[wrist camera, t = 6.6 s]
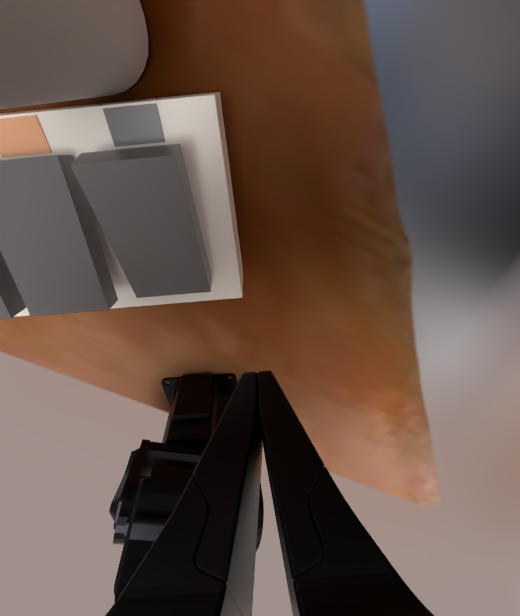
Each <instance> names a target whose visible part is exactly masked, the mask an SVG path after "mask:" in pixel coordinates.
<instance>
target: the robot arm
mask: <svg viewBox="0 0 520 616" xmlns="http://www.w3.org/2000/svg"><path fill="white" fill-rule="evenodd" d="M230 376H231V377H233V379H228V377H230ZM166 381H168V382H170V384H166V383H165V382H166ZM161 383H162V386H163V388H164V391H165V393H166V396H167V398H168V401H169V403H170V406H171V407H170V411H169V416H168V420H167V424H166V428H165V433H164V437H163V441H162V443H158V442H150V440H144V439H143V440H142V443H141V446H140V448H139V449H137V450H135V451H132V452H131V456H130V459H129V462H128V465H127V468H126V471H125V474H124V476H123V479H122V481H121V483H120V486H119V488H118V490H117V492H116V494H115V496H114V499H113V501H112V503H111V507H110V511H109V512H110V514H111V516H112V518H113V520H114V530H115V534H114V541H113V544H124V547H123V551H122V555H121V559H120V564H119V568H118V572H117V576H116V581H115V585H114V594H115V604H114V605H113V606H112V608H111V609H110V610H109V612H108V613H107V614H106V616H252V602H253V587H254V572H255V556H256V551H257V549H258V547H259V544H260V540H261V535H262V528H263V513H264V512H263V511H264V510H263V497H262V490H261V483H260V478H261V463H262V440H263V447H264V453H265V459H266V465H267V470H268V476H269V481H270V487H271V493H272V498H273V504H274V510H275V516H276V521H277V527H278V533H279V538H280V544H281V550H282V555H283V560H284V567H285V572H286V578H287V584H288V589H289V595H290V601H291V606H292V612H293V616H434V615H433V614H432V613H431V612H430V611H429V610H428V609H427V608H426V607H425V606H424V605H423V604H422V603H421V602H420V600H419V599H418V598H417V597H416V596H415V595H414V593H413V592H412V591H411V590H410V589H409V587H408V586H407V585H406V584H405V582H404V581H403V580H402V579H401V577H400V576H399V574H398V573H397V572H396V570H395V569H394V568H393V566H392V565H391V564H390V562H389V561H388V559H387V558H386V557H385V555H384V554H383V553H382V551H381V550H380V548H379V547H378V546H377V544H376V543H375V542H374V540H373V539H372V537H371V536H370V535H369V533H368V532H367V530H366V529H365V528H364V526H363V525H362V524H361V522H360V521H359V519H358V518H357V516H356V515H355V513H354V512H353V511H352V509H351V508H350V506H349V505H348V503H347V502H346V500H345V499H344V497H343V495H342V494H341V492H340V491H339V489H338V487H337V486H336V484H335V482H334V481H333V479H332V477H331V475H330V474H329V472H328V470H327V468H326V467H324V463H323V461H322V460H321V458H320V456H319V454H318V453H317V451H316V449H315V447H314V446H313V444H312V442H311V440H310V439H309V437H308V435H307V433H306V431H305V430H304V428H303V426H302V424H301V423H300V421H299V419H298V417H297V416H296V414H295V412H294V410H293V408H292V407H291V405H290V403H289V401H288V400H287V398H286V396H285V394H284V393H283V391H282V389H281V387H280V386H279V384H278V382H277V380H276V378H275V377H274V375H273V373H272V372H271V371H259V372H258V374H257V372H245V373H243V375H242V377H241V379H240V381H239V383H238V384H237V378H236V375H235V374H232V373H226V374H213V375H212V374H201V375H188V376H182V377H174V378H164V379H163V380H162V382H161Z"/></svg>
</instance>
